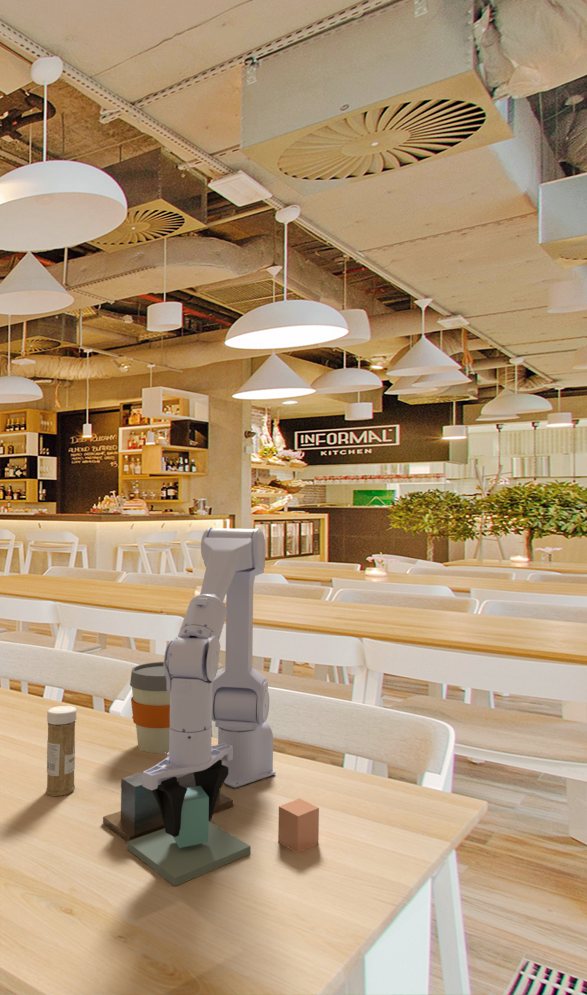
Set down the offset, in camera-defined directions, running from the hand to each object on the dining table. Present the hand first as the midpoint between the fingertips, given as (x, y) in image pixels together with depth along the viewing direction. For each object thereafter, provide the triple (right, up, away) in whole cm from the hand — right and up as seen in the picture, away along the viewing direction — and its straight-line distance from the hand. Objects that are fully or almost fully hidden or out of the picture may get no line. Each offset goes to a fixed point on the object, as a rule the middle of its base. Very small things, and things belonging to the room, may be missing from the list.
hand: (188, 826), depth 91 cm
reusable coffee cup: (-12, -4, +41) cm, 43 cm away
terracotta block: (+15, -4, +3) cm, 16 cm away
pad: (0, -3, 0) cm, 3 cm away
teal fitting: (0, -2, 0) cm, 2 cm away
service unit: (-5, -4, +11) cm, 12 cm away
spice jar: (-24, -4, +19) cm, 31 cm away
